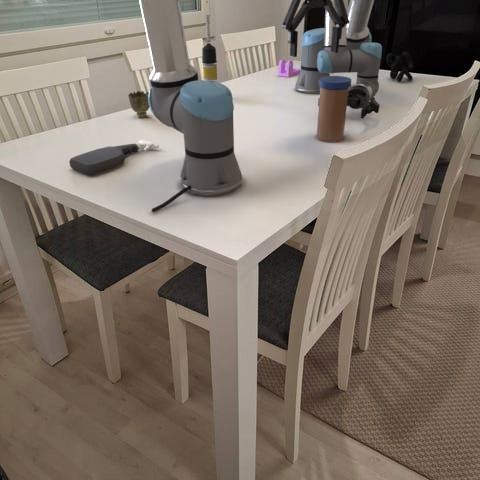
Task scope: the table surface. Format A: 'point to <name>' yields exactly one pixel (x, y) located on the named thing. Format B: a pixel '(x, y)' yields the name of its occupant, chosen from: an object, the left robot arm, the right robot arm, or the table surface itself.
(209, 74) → the black tall bottle
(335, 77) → the lid
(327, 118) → the jar
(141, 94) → the cup
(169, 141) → the table surface
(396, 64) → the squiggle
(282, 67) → the bracket
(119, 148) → the spray bottle
